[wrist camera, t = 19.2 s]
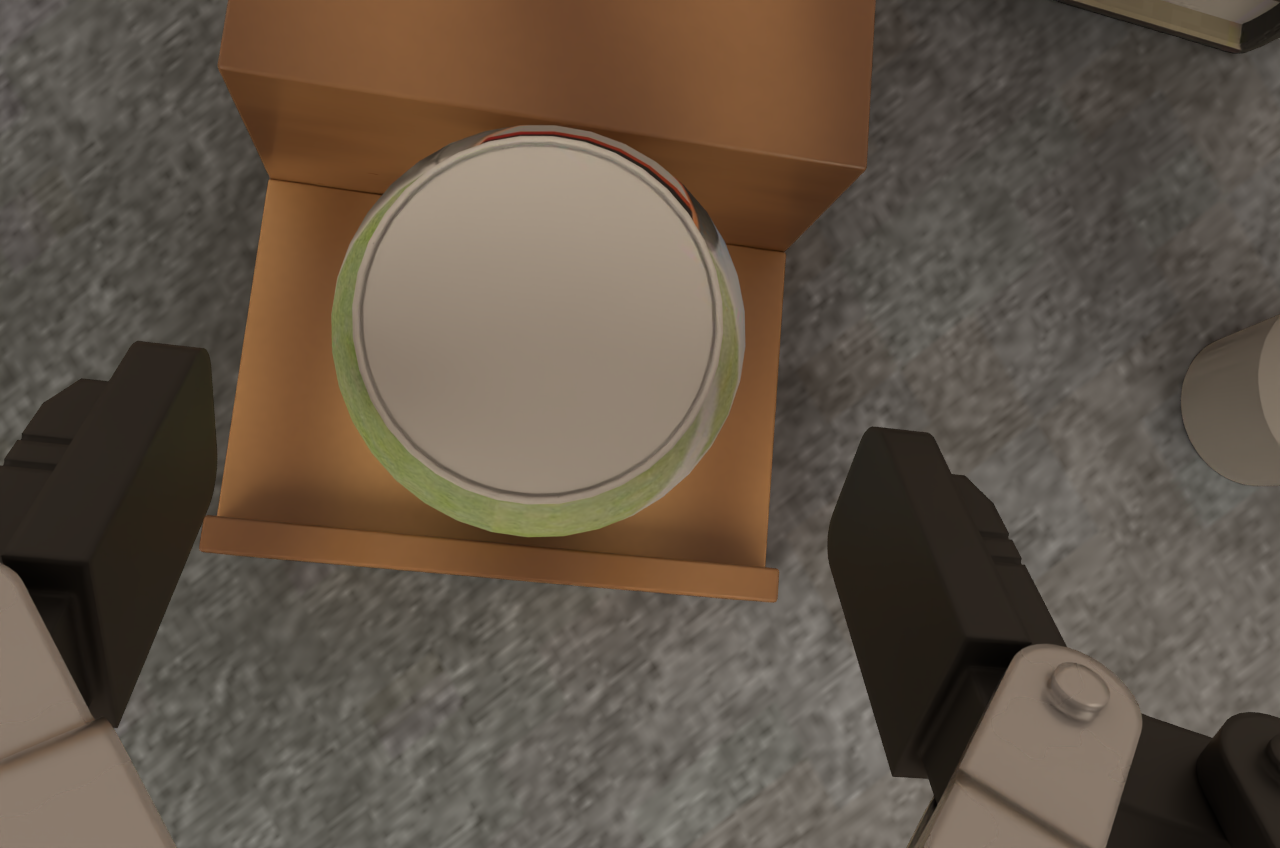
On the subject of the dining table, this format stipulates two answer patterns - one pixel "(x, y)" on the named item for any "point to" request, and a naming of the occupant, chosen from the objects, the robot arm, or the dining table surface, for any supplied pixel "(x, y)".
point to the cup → (1237, 404)
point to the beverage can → (538, 331)
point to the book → (1198, 19)
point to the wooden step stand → (493, 99)
